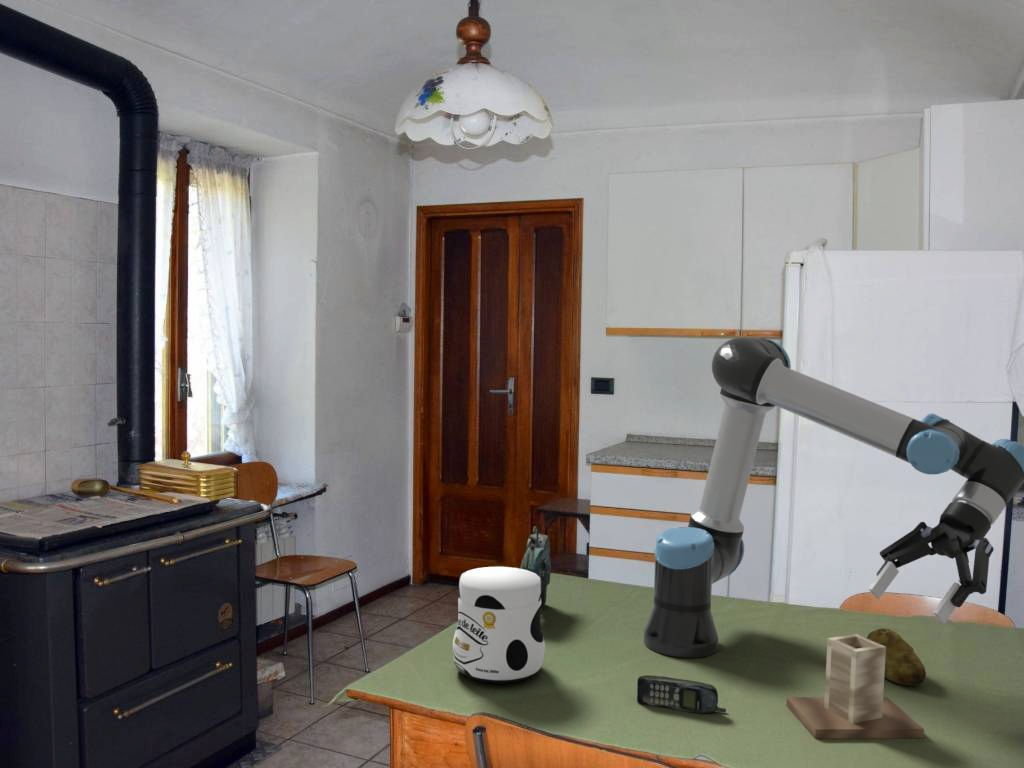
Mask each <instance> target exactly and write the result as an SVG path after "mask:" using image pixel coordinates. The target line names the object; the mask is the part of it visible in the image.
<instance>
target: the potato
mask: <svg viewBox="0 0 1024 768" xmlns="http://www.w3.org/2000/svg"><path fill="white" fill-rule="evenodd" d="M866 636H867V637H866V638H867V639H869V640H871V641H874V642H876V643H878V644H881V645H883V646H885V647H886V655H885V673H884V679H887V680H889V681H891V682H892V683H896V684H900V685H903V686H908V687H915V686H919V685H922V684H923V683H924V681H925V679H926V677H927V671H926V668H925V665H924V664H923V662H922V661H921V659H920V657H919V656H918V655H917V654H916V652H915V651H914V648H913V647H912V646H911V645H910V644H909V643H908V642H907V641H906V640H904V639H903V638H902V636H901V635H900V634H899V633H897V632H896V631H893V630H891V629H890V628H878V629H875V630H872V631H871V632H869V633H868V635H866Z"/></svg>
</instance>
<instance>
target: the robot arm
mask: <svg viewBox="0 0 1024 768" xmlns="http://www.w3.org/2000/svg"><path fill="white" fill-rule="evenodd" d="M791 366H792V365H791V360H790V357H789V354H788V352H787V351H786V350H785V348H784V347H783V346H781V344H780V343H778V342H776V341H774V340H772V339H768V338H765V337H758V336H757V337H755V336H754V337H735V338H734V337H733V338H731V339H729V340H727V341H725V342H724V343H722V344H721V345H720V346H719V347H718V348H717V349H716V351H715V352H714V355H713V356H712V361H711V371H712V376H713V378H714V380H715V382H716V384H718V386H719V387H720V393H719V395H720V398H721V399H722V400H723V402H724V405H723V406H724V407H723V411H722V415H721V418H720V424H719V427H718V432H717V434H716V439H715V442H714V443H715V444H714V448H713V451H712V455H711V459H710V463H709V464H710V465H709V468H708V473H707V476H706V480H705V485H704V489H703V493H702V498H701V501H700V506H699V508H697V509H696V510H694V511H692V512H691V513H690V517H689V520H688V525H687V526H678V527H677V528H675V527H671V528H668V529H666V530H663V531H662V532H660V533H659V534H658V536H657V538H656V542H655V548H654V582H653V606H652V608H651V611H650V613H649V616H648V618H647V619H648V620H647V622H646V625H645V628H644V630H643V643H644V644H645V646H646V647H647V648H648V649H650V650H652V651H654V652H656V653H660V654H662V655H666V656H671V657H677V658H686V659H687V658H689V659H690V658H691V659H692V658H702V657H708V656H711V655H714V654H715V653H716V652H717V651H718V650H719V635H718V632H717V631H718V630H717V629H716V624H715V622H714V617H713V614H712V611H711V609H712V592H713V591H712V587H713V584H714V583H717V582H719V581H721V580H723V579H725V578H727V577H728V576H730V575H731V574H733V573H734V572H735V571H736V570H737V568H738V567H739V566H740V565H741V563H742V561H743V559H744V554H745V543H744V540H743V534H744V531H745V526H744V524H743V523H742V521H741V519H740V516H741V512H742V508H743V504H744V502H745V497H746V493H747V488H748V485H749V480H750V477H751V472H752V468H753V465H754V461H755V457H756V453H757V449H758V445H759V443H760V441H759V440H760V437H761V432H762V430H763V426H764V422H765V419H766V418H765V417H766V414H767V413H768V412H770V411H771V410H773V409H775V408H776V407H778V408H780V409H783V410H785V411H788V412H790V413H792V414H794V415H797V416H799V417H801V418H804V419H806V420H808V421H811V422H813V423H815V424H817V425H821V426H823V427H825V428H828V429H830V430H833V431H835V432H838V433H839V434H841V435H844V436H847V437H848V438H851V439H854V440H856V441H858V442H860V443H863V444H865V445H868V446H870V447H872V448H875V449H877V450H879V451H882V452H884V453H887V454H889V455H890V456H894V457H896V458H898V459H900V460H901V461H904V462H906V463H909V464H910V465H911V466H912V467H913V468H914V469H915V470H916V471H918V472H919V473H922V474H925V475H931V476H932V475H940V474H944V473H947V472H948V471H950V470H951V471H953V472H954V473H957V475H959V476H961V477H963V478H965V479H967V480H966V481H965V482H964V484H963V485H962V486H961V488H960V489H959V490H958V491H957V493H956V494H955V495H954V497H953V498H952V501H950V502H949V504H947V506H946V508H945V509H944V510H943V512H942V513H941V514H940V516H939V522H938V524H937V525H936V526H934V527H931V526H928V525H927V523H926V522H925V521H920V522H919V523H918V524H917V525H916V526H915V528H914V529H913V530H911V531H910V532H908V533H906V534H905V535H903V536H902V537H900V538H899V539H897V540H895V541H894V542H893V543H891V544H890V545H888V546H886V547H885V548H883V549H882V550H880V552H879V555H880V557H881V558H882V560H883V561H884V562H883V564H882V565H881V567H880V568H879V569H878V571H877V572H876V576H877V577H875V579H874V580H873V581H872V583H871V584H870V585H869V587H868V590H869V592H870V593H871V594H872V595H873V596H874V598H875V599H878V600H879V599H881V597H882V596H883V594H884V593H885V592H886V590H887V589H888V588H889V586H890V585H891V584H892V582H893V581H894V579H896V577H897V575H898V574H899V572H900V571H899V570H898V568H901V567H903V566H906V565H908V564H909V563H912V562H915V561H917V560H919V559H922V558H925V557H926V556H934V555H936V554H937V555H938V556H942V557H943V556H945V557H947V558H949V559H952V560H953V559H955V564H956V569H957V573H958V580H957V581H958V582H955V581H954V582H953V583H952V585H951V586H950V588H949V589H948V591H947V592H946V593H945V595H944V596H943V598H942V599H941V600H940V602H939V603H938V604H937V606H936V607H935V609H934V610H933V612H932V613H933V614H934V615H935V617H936V618H937V619H938V621H939V622H940V623H941V624H943V625H945V624H946V623H947V621H948V620H949V618H950V617H951V615H952V614H953V613H954V611H955V610H956V609H957V608H960V607H963V605H964V603H965V601H967V599H968V598H969V596H970V595H972V594H973V593H978V594H980V595H984V594H986V593H987V589H988V588H987V586H988V576H989V564H990V557H991V555H992V553H993V552H994V550H995V549H994V547H993V545H992V544H991V542H990V541H989V539H988V538H986V537H985V536H986V535H987V534H988V533H989V531H990V530H991V528H992V525H994V523H995V522H996V521H997V520H998V518H999V516H1000V515H1001V514H1002V513H1003V511H1004V509H1006V507H1007V505H1009V503H1010V501H1011V500H1012V499H1013V497H1014V496H1015V494H1016V493H1017V492H1018V491H1019V489H1020V488H1021V486H1022V485H1023V484H1024V445H1023V444H1022V443H1019V442H1018V441H1014V440H1013V441H1011V440H1010V439H1008V438H999V439H997V440H995V442H994V443H992V444H991V443H990V442H987V441H985V440H982V439H981V438H979V437H977V436H976V435H974V434H972V433H971V432H969V431H967V430H966V429H963V428H961V427H960V426H959V425H956V424H955V423H953V422H951V421H950V420H949V419H947V418H943V417H942V416H939V415H937V414H936V413H928V414H926V415H925V416H924V417H923V418H922V420H918V419H915V418H913V417H911V416H909V415H906V414H903V413H900V412H899V411H897V410H893V409H891V408H889V407H886V406H883V405H881V404H878V403H876V402H874V401H871V400H869V399H867V398H863V397H862V396H859V395H856V394H853V393H851V392H849V391H847V390H844V389H841V388H840V387H839V388H838V387H836V386H834V385H831V384H829V383H826V382H824V381H822V380H819V379H816V378H814V377H811V376H809V375H806V374H804V373H801V372H799V371H796V370H794V369H792V367H791ZM929 544H930V545H931V546H930V545H929ZM971 551H975V552H974V561H973V569H972V572H971V569H970V565H969V563H970V560H969V557H968V553H969V552H971Z"/></svg>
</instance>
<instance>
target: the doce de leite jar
mask: <svg viewBox="0 0 1024 768" xmlns="http://www.w3.org/2000/svg"><path fill="white" fill-rule="evenodd" d="M458 582H459V583H458V589H457V590H458V591H457V593H458V599H457V601H458V602H457V604H458V605H457V606H458V607H457V609H458V610H457V611H458V612H457V613H458V617H457V625H456V628H455V632H454V635H453V639H452V656H453V657H452V658H453V663H454V665H455V667H456V669H457V670H458V671H459V672H460V673H461V674H463V675H464V676H467V677H468V678H470V679H472V680H476V681H479V682H485V683H492V684H508V683H514V682H520V681H524V680H526V679H529V678H531V677H533V676H534V675H535V674H537V673H539V671H540V670H541V669H542V665H543V663H544V658H545V652H546V644H545V638H544V633H543V629H542V624H541V623H542V621H541V619H542V618H541V617H542V615H541V614H542V608H541V603H542V602H541V580H540V577H539V576H538V575H537V574H536V573H533V572H531V571H528V570H524V569H520V568H518V567H510V566H487V567H485V566H484V567H477V568H473V569H469V570H467V571H464V572H462V573H461V575H460V577H459V581H458Z"/></svg>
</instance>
